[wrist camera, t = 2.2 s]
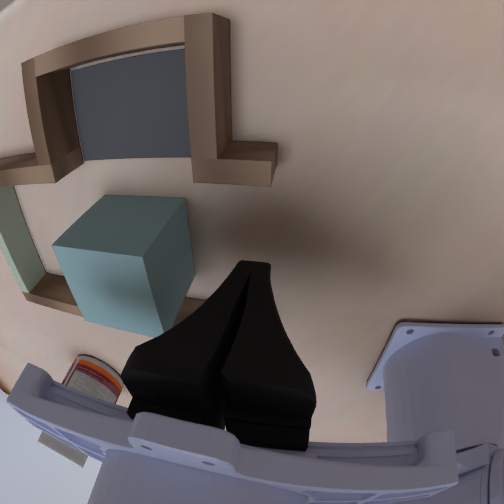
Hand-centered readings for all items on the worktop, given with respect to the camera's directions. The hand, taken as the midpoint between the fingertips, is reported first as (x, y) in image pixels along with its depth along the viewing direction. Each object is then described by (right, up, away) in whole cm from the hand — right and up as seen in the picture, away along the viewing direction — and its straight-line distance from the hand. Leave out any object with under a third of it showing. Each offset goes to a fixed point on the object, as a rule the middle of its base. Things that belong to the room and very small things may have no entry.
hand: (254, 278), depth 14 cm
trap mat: (-6, +8, -1) cm, 10 cm away
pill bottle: (-17, -12, +16) cm, 26 cm away
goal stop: (-17, +3, +5) cm, 18 cm away
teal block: (-6, +2, +3) cm, 7 cm away
